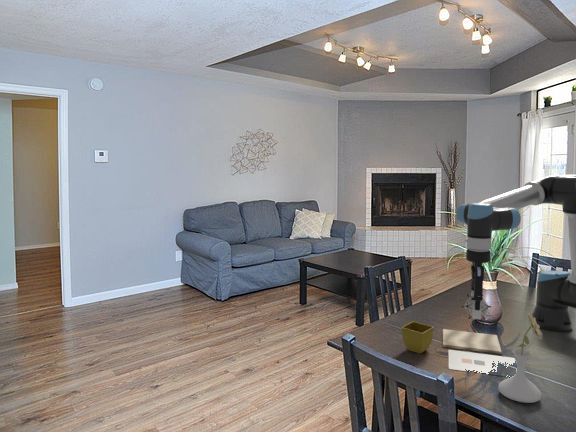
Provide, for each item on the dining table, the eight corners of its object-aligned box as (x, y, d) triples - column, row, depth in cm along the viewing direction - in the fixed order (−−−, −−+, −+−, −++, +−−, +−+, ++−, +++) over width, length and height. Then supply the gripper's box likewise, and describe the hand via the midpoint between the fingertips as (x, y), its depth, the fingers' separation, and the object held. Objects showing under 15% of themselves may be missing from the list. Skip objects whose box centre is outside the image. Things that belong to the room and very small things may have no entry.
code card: (514, 358, 156) (514, 357, 156) (521, 379, 141) (522, 378, 141) (448, 349, 163) (448, 349, 163) (448, 368, 148) (448, 368, 148)
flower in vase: (529, 411, 123) (535, 325, 120) (490, 394, 132) (494, 313, 129) (551, 396, 131) (556, 315, 127) (512, 381, 140) (517, 305, 137)
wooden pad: (496, 337, 174) (496, 335, 174) (501, 354, 159) (501, 351, 159) (442, 331, 181) (443, 329, 181) (442, 346, 166) (442, 344, 166)
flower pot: (400, 350, 163) (400, 326, 162) (412, 343, 169) (413, 320, 168) (421, 357, 157) (422, 333, 156) (433, 350, 163) (434, 326, 162)
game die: (476, 326, 153) (490, 302, 154) (485, 326, 145) (499, 300, 146) (453, 312, 155) (467, 288, 156) (460, 311, 146) (474, 286, 148)
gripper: (465, 242, 160) (462, 302, 162) (468, 255, 139) (465, 323, 142) (487, 244, 157) (484, 305, 160) (494, 256, 137) (490, 326, 139)
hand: (475, 313), depth 151 cm, fingers closed on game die, 9 cm apart
